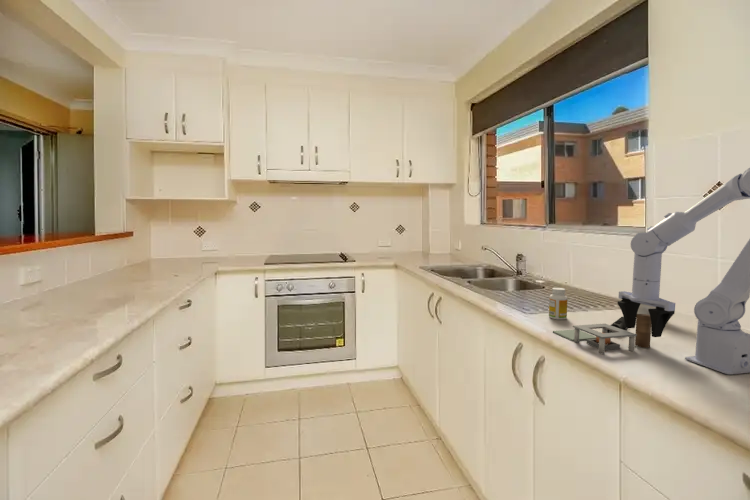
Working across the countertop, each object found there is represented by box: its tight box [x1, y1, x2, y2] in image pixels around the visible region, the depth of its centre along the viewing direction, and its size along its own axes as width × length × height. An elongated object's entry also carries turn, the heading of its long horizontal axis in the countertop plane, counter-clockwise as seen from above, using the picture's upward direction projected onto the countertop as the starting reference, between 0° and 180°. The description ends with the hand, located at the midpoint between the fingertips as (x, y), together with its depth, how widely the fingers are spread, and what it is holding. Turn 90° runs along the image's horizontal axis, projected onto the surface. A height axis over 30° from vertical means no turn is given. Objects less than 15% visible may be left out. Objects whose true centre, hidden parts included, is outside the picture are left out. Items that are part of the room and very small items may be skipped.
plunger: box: [595, 336, 612, 345], centre depth 100 cm, size 3×3×2 cm
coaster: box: [552, 328, 596, 342], centre depth 108 cm, size 8×8×1 cm
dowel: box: [634, 314, 652, 349], centre depth 99 cm, size 3×3×8 cm
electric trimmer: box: [607, 316, 627, 333], centre depth 114 cm, size 4×16×3 cm, turn 138°
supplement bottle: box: [548, 287, 568, 321], centre depth 127 cm, size 5×5×10 cm
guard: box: [572, 323, 637, 355], centre depth 100 cm, size 10×10×4 cm
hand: (642, 332), depth 100 cm, fingers open, 7 cm apart
